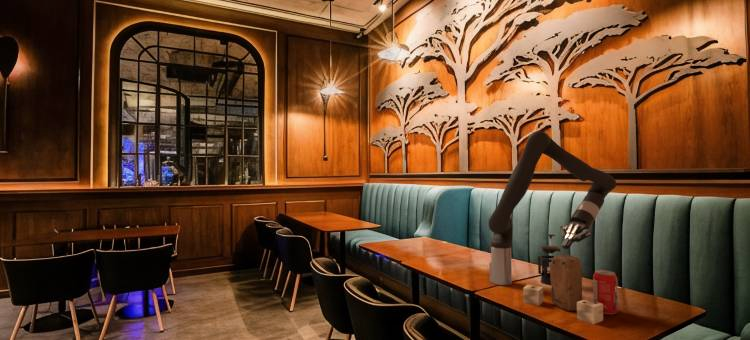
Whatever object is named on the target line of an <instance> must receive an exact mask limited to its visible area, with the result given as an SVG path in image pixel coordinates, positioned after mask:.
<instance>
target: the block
mask: <svg viewBox="0 0 750 340" xmlns="http://www.w3.org/2000/svg"><path fill="white" fill-rule="evenodd" d="M554 256H555V257H554V258H553V259H552V258H551V260H552V261H551V262H550V265H549V267H550V272H549V273H550V278H551V285H550V286H551V289H550V290H551V291H550V294H551V302H552V304H554V305H555V306H556V307H558V308H560V309H561V310H565V311H568V312H570V311H572V312H575V311H576V312H577V302H578V301H581V300H583V274H582V263H581V259H580V258H579V257H576V256H573V255H571V254H565V253H564V254H558V255H554Z"/></svg>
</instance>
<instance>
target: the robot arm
mask: <svg viewBox="0 0 750 340" xmlns="http://www.w3.org/2000/svg"><path fill="white" fill-rule="evenodd" d="M542 155H545V156H547V157H549V158H550V159H552V160H554V161H555V162H556V163H557V164H559V165H560V166H561V167H562V168H563V169H564V170H565V171H567V172H568V173H569V174H570V175H572V176H573V177H575V178H576V179H578V180H580V181H581V182H586V181H590V182H592V184H591V185H590V187H589V189H588V191H587V193H586V195H585V196H584V198H583V199H582V201H581V203H580V204H579V205H578V206H577V207H576V209H575V210H574V212H573V214H572V215H571V217H570V221H569V222H568V223H567V224H566V225H565V226H562V225H560V226H559V230H560V233H561V237H562V238H563V239H564V240H563V241H562V243H561V248H563V250H569V248H571V246H572V245H573V244H574V243H575V242H576V243H579V242H581V241H584V240H585V239H587V238H589V237H591V236H592V233H591V232H590V230H589V229H590V228H591V226H592V225H593V223H594V221H595V220H596V218H597V217H598V215H599V212H600V210H601V208H602V207H603V205H604V203H605V198H606V197H607V196H608V195H609V194H610V192H612V191H613V190H614V189H616V187H617V181H616V179H615V178H614V177H613V176H612V175H610V173H607V172H605V171H602V170H600V169H597V168H596V167H595V168H594V167H592V166H590V165H589V164H588V163H587V162H585V161H583V160H582V159H580V158H579V157H577V156H576V155H573V154H572V153H570V152H568V151H567V150H566V149H564V148H563V147H561V146H560V145H559V144H558V143H556V142H555V141H554V140H553V138H551V137H550V135H549V134H548V133H546V132H545V131H541V130H536V131H533V132H532V133H530V134H529V135H528V137H527V140H526V143H525V145H524V148H523V151H522V154H521V157H520V158H519V160H518V162H517V164H516V165H515V167H514V169H513V171H512V173H511V175H510V177H509V178H508V181H507V183H506V185H505V188H504V190H503V192H502V195H501V198H500V200H499V201H498V204H497V206H496V207H495V208H494V211H493V212H492V213H491V215H490V217H489V219H488V228H489V230H490V231H491V232H492V233H493V236H492V238H491V240H490V261H489V263H488V264H489V282H490V283H492V284H494V285H497V286H510V285H512V283H513V281H512V280H513V278H512V277H513V276H512V275H513V273H512V272H513V271H512V270H513V269H512V243H513V233H514V232H513V228H514V227H513V219H512V214H513V212H514V210H515V208H516V207H517V206H518V205H519V203H520V202H521V201H522V199H523V198H524V197H525V195H526V194H527V192H528V189H529V187H530V185H531V183H532V181H533V178H534V174H535V171H536V167H537V164H538V162H539V161H540V158H541V157H542Z"/></svg>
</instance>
